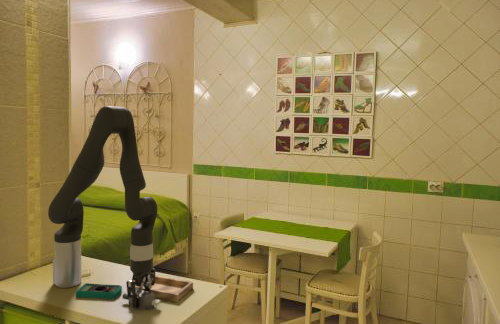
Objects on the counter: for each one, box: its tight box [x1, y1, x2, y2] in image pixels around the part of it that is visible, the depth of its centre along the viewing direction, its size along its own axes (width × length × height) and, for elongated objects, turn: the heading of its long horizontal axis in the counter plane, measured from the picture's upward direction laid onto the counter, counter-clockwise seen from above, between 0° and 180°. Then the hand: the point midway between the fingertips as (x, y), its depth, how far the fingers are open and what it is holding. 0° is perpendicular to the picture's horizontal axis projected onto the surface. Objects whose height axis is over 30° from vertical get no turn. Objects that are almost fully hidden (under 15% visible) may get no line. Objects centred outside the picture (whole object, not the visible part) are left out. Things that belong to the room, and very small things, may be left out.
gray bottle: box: [122, 290, 161, 311], centre depth 135 cm, size 14×4×4 cm, turn 71°
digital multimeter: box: [75, 282, 123, 300], centre depth 143 cm, size 7×15×3 cm, turn 87°
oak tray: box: [135, 274, 194, 303], centre depth 147 cm, size 20×12×3 cm, turn 71°
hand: (141, 303), depth 135 cm, fingers open, 6 cm apart
